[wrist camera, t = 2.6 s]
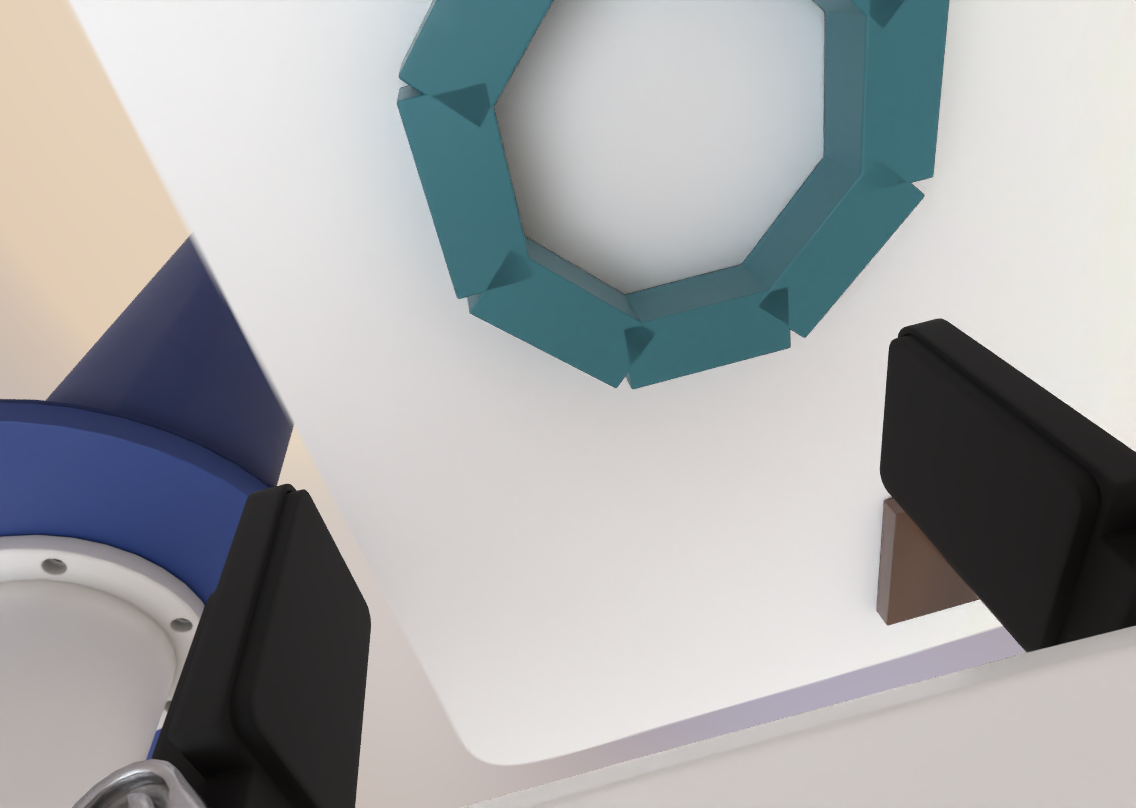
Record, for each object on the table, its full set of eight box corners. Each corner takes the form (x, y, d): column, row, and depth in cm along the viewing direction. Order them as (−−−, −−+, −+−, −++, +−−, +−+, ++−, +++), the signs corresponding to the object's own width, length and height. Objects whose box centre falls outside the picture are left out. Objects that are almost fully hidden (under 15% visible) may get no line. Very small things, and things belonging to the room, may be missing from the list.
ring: (490, 390, 30) (496, 426, 28) (336, -115, 20) (325, -126, 18) (883, 287, 31) (921, 313, 28) (913, -248, 21) (975, -275, 19)
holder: (875, 610, 42) (990, 772, 34) (883, 500, 38) (1019, 656, 29) (1016, 571, 43) (1164, 721, 34) (1041, 456, 38) (1222, 598, 29)
